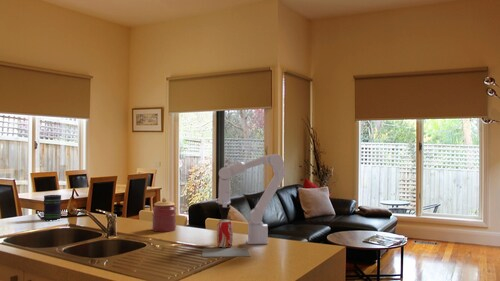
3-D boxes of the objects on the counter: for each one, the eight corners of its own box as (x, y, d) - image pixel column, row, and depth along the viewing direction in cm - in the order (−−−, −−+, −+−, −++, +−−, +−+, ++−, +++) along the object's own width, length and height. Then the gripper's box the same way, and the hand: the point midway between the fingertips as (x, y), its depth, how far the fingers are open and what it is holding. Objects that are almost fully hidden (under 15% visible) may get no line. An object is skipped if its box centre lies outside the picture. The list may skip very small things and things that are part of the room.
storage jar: (39, 220, 256) (40, 196, 256) (49, 218, 265) (50, 194, 266) (54, 221, 254) (55, 196, 254) (64, 218, 264) (64, 195, 264)
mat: (247, 248, 189) (247, 248, 189) (250, 256, 175) (250, 255, 175) (202, 249, 187) (202, 248, 187) (202, 257, 173) (202, 256, 173)
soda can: (226, 249, 188) (226, 222, 188) (213, 247, 191) (214, 220, 192) (235, 246, 194) (235, 220, 194) (223, 244, 197) (223, 218, 198)
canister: (179, 230, 230) (180, 198, 230) (157, 233, 222) (157, 199, 223) (170, 226, 240) (170, 195, 241) (148, 229, 233) (148, 197, 234)
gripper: (216, 190, 209) (215, 217, 209) (216, 193, 195) (215, 223, 195) (230, 190, 210) (229, 217, 210) (231, 193, 196) (231, 223, 195)
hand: (224, 220), depth 202 cm, fingers open, 6 cm apart
